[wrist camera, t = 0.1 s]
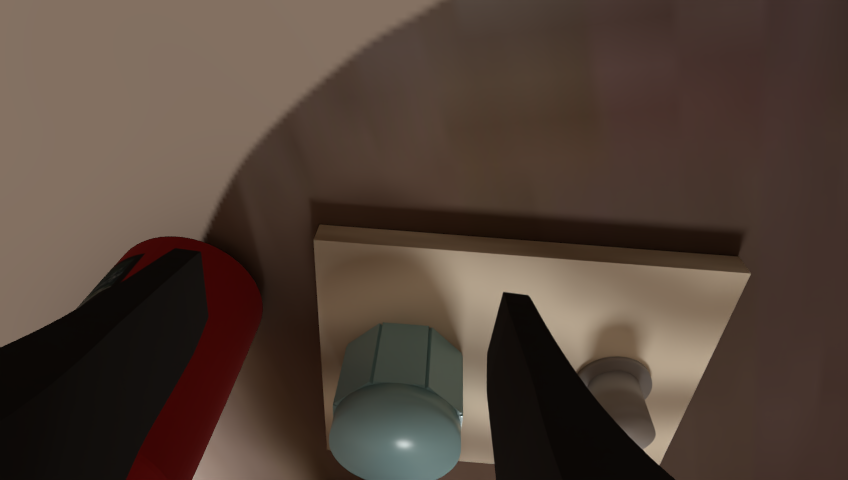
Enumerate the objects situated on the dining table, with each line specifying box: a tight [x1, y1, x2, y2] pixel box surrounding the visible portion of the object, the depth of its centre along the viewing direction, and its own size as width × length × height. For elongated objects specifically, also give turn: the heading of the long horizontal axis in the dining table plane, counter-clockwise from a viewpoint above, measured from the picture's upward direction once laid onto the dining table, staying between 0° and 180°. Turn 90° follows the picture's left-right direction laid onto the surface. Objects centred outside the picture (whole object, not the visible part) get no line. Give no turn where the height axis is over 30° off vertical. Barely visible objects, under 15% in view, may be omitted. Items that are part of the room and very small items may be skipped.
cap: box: [329, 322, 463, 480], centre depth 25 cm, size 6×6×4 cm
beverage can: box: [77, 237, 263, 480], centre depth 22 cm, size 7×7×12 cm
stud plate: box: [314, 225, 751, 465], centre depth 26 cm, size 14×18×4 cm
